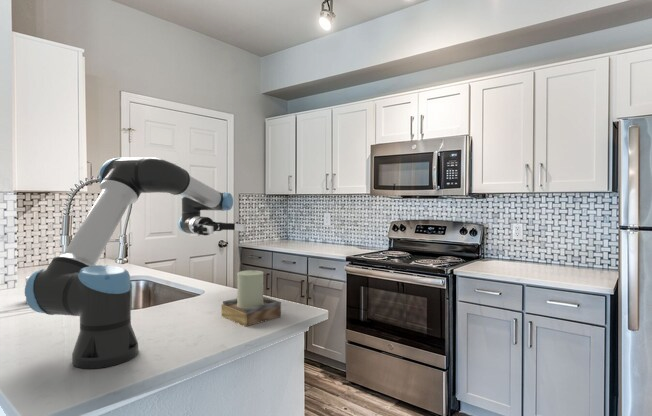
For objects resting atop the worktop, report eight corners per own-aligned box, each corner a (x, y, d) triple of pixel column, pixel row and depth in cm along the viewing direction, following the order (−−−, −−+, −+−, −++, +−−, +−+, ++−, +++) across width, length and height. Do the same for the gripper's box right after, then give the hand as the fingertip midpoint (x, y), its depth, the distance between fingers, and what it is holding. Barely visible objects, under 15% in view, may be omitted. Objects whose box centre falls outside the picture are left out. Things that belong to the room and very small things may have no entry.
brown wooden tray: (245, 326, 127) (245, 310, 127) (221, 316, 137) (221, 301, 137) (280, 316, 137) (280, 302, 137) (256, 308, 148) (256, 294, 148)
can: (266, 302, 141) (266, 269, 141) (259, 309, 132) (260, 274, 132) (241, 301, 142) (241, 268, 142) (233, 308, 133) (233, 273, 132)
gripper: (228, 232, 170) (256, 236, 155) (172, 237, 153) (197, 241, 138) (228, 215, 170) (256, 217, 155) (172, 217, 152) (197, 220, 137)
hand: (229, 229), depth 146 cm, fingers open, 13 cm apart
